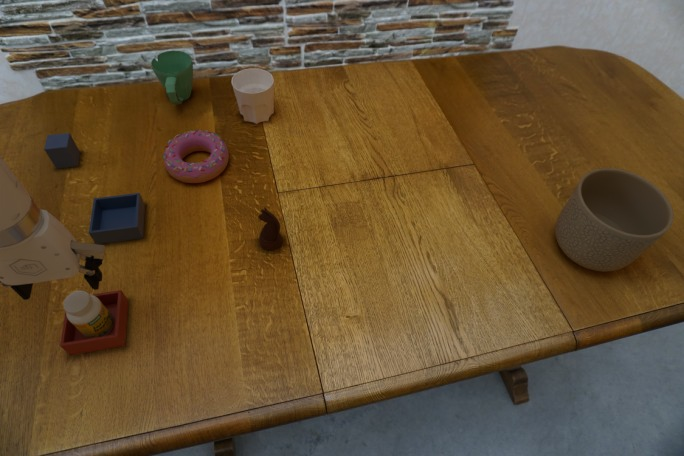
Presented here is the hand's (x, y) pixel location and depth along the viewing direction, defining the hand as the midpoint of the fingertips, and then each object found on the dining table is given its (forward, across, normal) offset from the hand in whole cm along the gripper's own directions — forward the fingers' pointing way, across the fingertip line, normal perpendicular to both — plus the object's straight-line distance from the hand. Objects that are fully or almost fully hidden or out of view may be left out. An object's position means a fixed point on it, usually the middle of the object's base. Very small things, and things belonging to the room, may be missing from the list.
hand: (63, 286), depth 71 cm
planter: (+13, +98, 0) cm, 98 cm away
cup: (+14, +34, +54) cm, 65 cm away
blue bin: (+14, +3, +23) cm, 27 cm away
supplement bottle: (+14, +1, -1) cm, 14 cm away
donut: (+14, +19, +38) cm, 44 cm away
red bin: (+14, +1, 0) cm, 14 cm away
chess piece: (+14, +33, +13) cm, 38 cm away
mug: (+15, +15, +62) cm, 65 cm away
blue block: (+15, -10, +44) cm, 47 cm away
